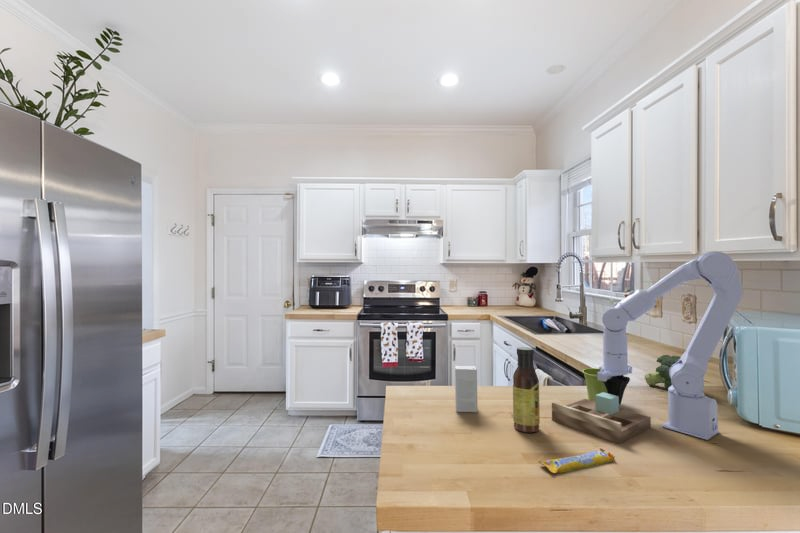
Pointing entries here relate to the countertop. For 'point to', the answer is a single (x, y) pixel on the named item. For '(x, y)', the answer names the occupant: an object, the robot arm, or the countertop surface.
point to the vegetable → (662, 371)
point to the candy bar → (578, 461)
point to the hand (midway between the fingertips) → (615, 403)
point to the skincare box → (466, 388)
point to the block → (607, 403)
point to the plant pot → (593, 383)
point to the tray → (600, 420)
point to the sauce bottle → (526, 393)
